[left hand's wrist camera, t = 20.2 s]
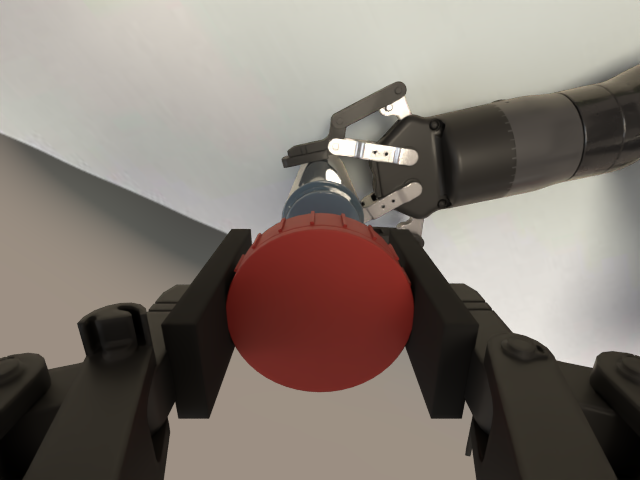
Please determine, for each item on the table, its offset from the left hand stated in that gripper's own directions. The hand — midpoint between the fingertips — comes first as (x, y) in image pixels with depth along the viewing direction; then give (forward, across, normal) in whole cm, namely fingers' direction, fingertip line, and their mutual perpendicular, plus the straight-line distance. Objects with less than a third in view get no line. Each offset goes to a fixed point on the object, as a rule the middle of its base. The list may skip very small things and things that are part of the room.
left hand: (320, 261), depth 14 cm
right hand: (+16, -2, -1) cm, 16 cm away
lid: (-4, 0, 0) cm, 4 cm away
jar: (+22, 0, 0) cm, 22 cm away
